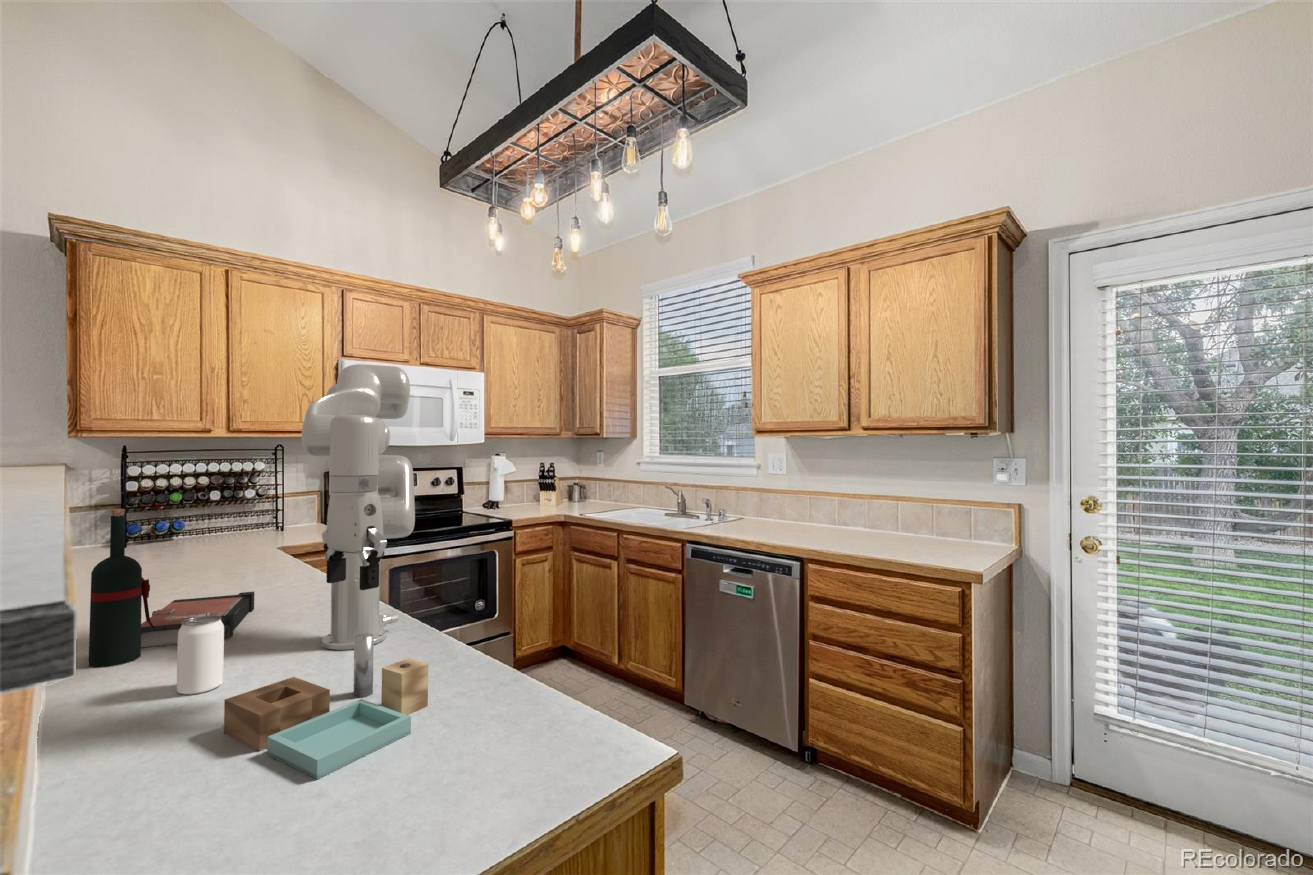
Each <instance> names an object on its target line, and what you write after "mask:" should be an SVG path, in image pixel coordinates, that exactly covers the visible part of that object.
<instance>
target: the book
mask: <svg viewBox="0 0 1313 875" xmlns="http://www.w3.org/2000/svg"><path fill="white" fill-rule="evenodd" d="M254 609H255V591H243V592H239V593H238V594H231V595H221V596H220V595H219V596H218V595H217V596H207V597H195V598H194V597H193V598H183V599H182V598H181V599H174V600H172V601H171V602H170V603H169V604H167V605H166V606H164V607H163V608H161V609H158V610H153V611H152V612H151V617H150V622H151V623H152V625H153V626H154V628H155V629H156V630H155V629H154V628H152V627H151V626H150V624H149V623H148V622H147V620H146V619H145V621H144V622H141V650H144V649H149V648H150V649H151V648H158V647H159V648H161V647H168V646H169V647H170V646H178V632H179V630H180V628H181V626H182V624H181V623H182V622H183V621H185V620H187V619H191V618H195V617H201V616H220V617H221V621H222V623H223V625H224V641H225V640H231V638H232V637H233V636H234V632H235V630H236V629H237V628H238V626H239V625H240V624H241V623H242V621H243V620H244V619H245V618H246V617H247V615H248V614H249V613H252V612H253V611H254Z"/></svg>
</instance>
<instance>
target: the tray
mask: <svg viewBox="0 0 1313 875" xmlns="http://www.w3.org/2000/svg"><path fill="white" fill-rule="evenodd" d="M411 728H412V716H410V715H405V714H402V713H400V712H397V711H394V710H391V709H388V708H385V707H383V706H381V705H379V704H376V703H374V702H371V701H368V700H365V699H363V698H360V699H357V700H355V701H353V702H350V703H348V704H345V705H343V706H340V707H338V708H335V709H333V710H329V712H328V713H325V714H323V715H320V716H318V717H315V718H313V719H310V720H308V721H305V722H303V723H300V724H298V725H295V726H293V727H290V728H288V729H285V730H283V731H280V732H278V733H275V734H273V735H270V736H268V737H267V748H266V755H267V756H268V757H271V758H273V759H275V760H276V761H278V762H280V763H282V764H285V765H286V766H289V767H291V768H293V769H295V770H297V771H299V772H301V773H303V774H305V775H306V776H309V777H311V778H313V779H315V780H320V779H321V778H324V777H325V776H327V775H330V774H332V773H333V772H336V771H338V770H340V769H342V768H344V767H345V766H347V765H350V764H352V763H353V762H356V761H358V760H359V759H361V758H364V757H366V756H368V755H370V754H372V753H374V752H376V751H378V750H380V749H381V748H384V747H386V746H388V745H390V744H392V743H394V742H396V741H398V740H400V739H402V738H405V737H406V736H408V735H410V734H411V733H412V729H411Z"/></svg>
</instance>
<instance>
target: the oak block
mask: <svg viewBox="0 0 1313 875" xmlns="http://www.w3.org/2000/svg"><path fill="white" fill-rule="evenodd" d="M428 699H429V663H426V662H423V661H419V660H417V659H416V660H415V659H413V658H410V657H409V658H406V659H403V660H399V661H397V662H393V663H391V664H389V665H387V666H384V667H381V699H380V700H381V702H380V703H381V705H380V706H383V707H385V708H388V709H391V710H394V711H397V712H400V713H402V714H405V715H408V716H410V715H412V714H414V713H416V712H419V711H420V710H422V709H423V710H424V709H426V708H427V707H428V706H429V705H428V704H429V702H428V701H429V700H428Z"/></svg>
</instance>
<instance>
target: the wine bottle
mask: <svg viewBox="0 0 1313 875" xmlns="http://www.w3.org/2000/svg"><path fill="white" fill-rule="evenodd" d="M125 512H126V509H125V508H118V509H111V514H112V515H110V535H109V536H110V538H109V539H110V540H109V557H107V558H104V559H103V560H101V561H100V562H98V563H97V564H96V565H95V566H94V567H93V568H92V571H91V573H90V600H89V601H90V607H89V608H90V609H89V628H88V629H89V634H88V637H89V638H88V663H87V664H88V665H87V666H88V667H90V668H95V669H96V668H97V669H99V668H108V667H109V668H110V667H115V666H120V665H124V664H127V663H130V662H134V661H136V660H138V659H140V658H141V657H142V649H141V624H142V601H143V608H144V615H145V621H146V620H147V622H148V623H149V624H150V626H151V627H152V628H154V626H153V625H152V623H151V622H150V612H149V611H150V609H149V603H148V602H149V601H148V599H149V597H150V591H151V584H150V579H149V578H147V579H145V578H144V577H143V568H142V566H141V564H140V562H139V561H137V560H136V559H135V558H132V557H131V556H127V555H126V554H125V549H126V543H125V542H126V514H125ZM154 629H155V628H154ZM155 630H156V629H155Z"/></svg>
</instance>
